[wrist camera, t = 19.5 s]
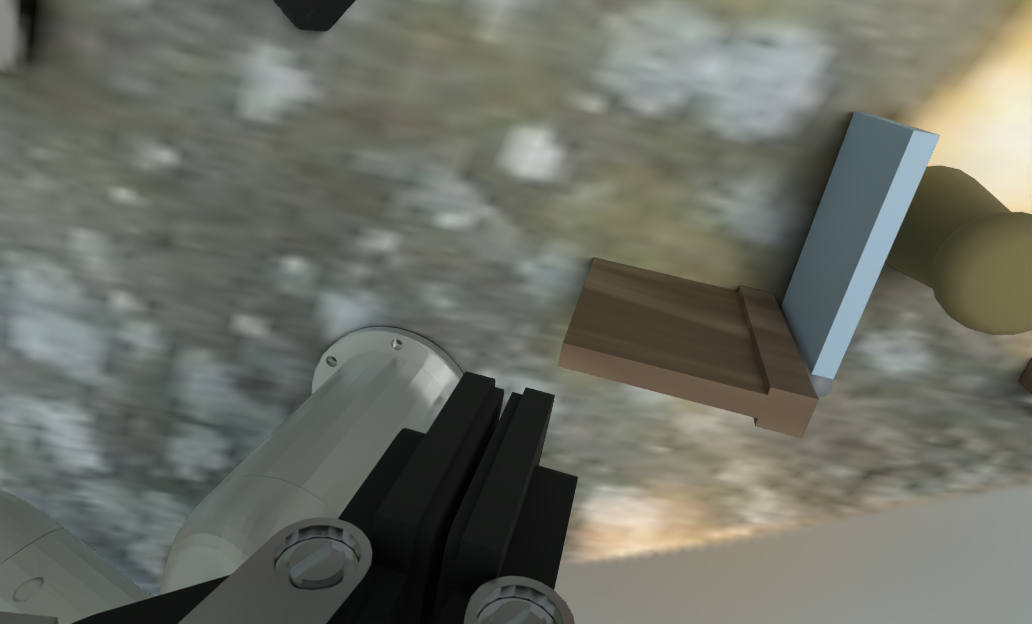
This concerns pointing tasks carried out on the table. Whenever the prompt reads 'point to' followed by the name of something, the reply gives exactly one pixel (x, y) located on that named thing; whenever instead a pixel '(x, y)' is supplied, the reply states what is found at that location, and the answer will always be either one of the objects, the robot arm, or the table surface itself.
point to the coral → (314, 12)
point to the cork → (968, 252)
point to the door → (852, 238)
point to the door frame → (693, 344)
